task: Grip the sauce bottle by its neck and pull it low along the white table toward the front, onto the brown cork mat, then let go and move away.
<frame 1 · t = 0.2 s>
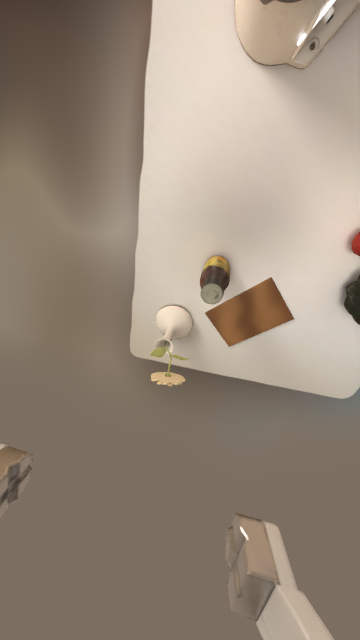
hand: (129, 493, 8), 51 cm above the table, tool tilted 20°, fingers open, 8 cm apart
sauce bottle: (216, 266, 54), on the table
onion: (359, 238, 45), on the table
flower in vase: (177, 320, 65), on the table
cork mat: (247, 315, 59), on the table
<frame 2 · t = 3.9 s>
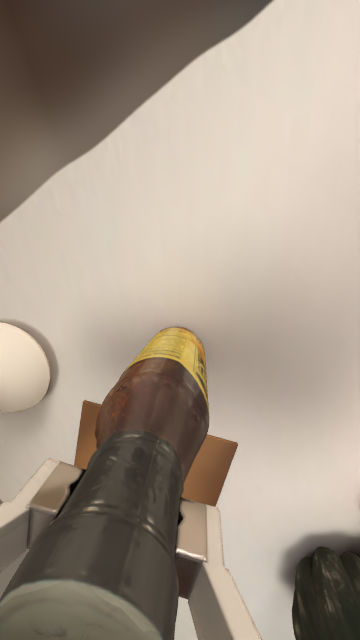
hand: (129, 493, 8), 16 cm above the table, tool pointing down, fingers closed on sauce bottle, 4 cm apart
sauce bottle: (177, 348, 24), on the table, touching gripper
squash: (333, 566, 28), on the table
flower in vase: (20, 367, 27), on the table
cork mat: (148, 464, 28), on the table
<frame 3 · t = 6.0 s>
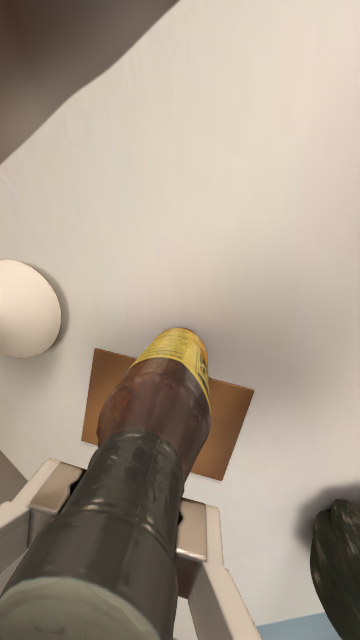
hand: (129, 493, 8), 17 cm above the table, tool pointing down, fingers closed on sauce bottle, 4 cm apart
sauce bottle: (180, 348, 24), point 1 cm above the table, touching gripper
squash: (351, 521, 28), on the table
flower in vase: (30, 314, 26), on the table
cork mat: (161, 416, 27), on the table
when the fingers open (16 cm above the table, at t = 8.6 s): sauce bottle stays where it is, resting on cork mat.
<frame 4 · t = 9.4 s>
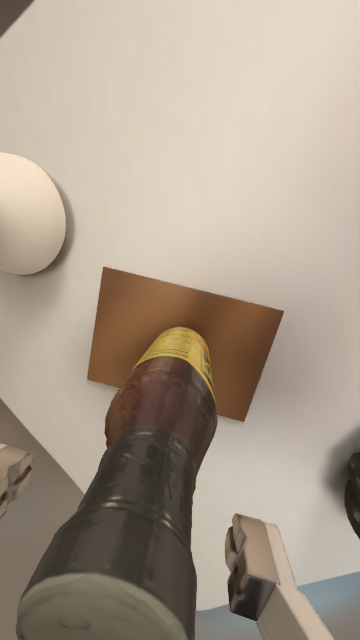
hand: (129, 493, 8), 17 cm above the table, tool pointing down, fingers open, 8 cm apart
sauce bottle: (181, 347, 24), resting on cork mat
flower in vase: (30, 229, 23), on the table
cork mat: (177, 347, 24), on the table
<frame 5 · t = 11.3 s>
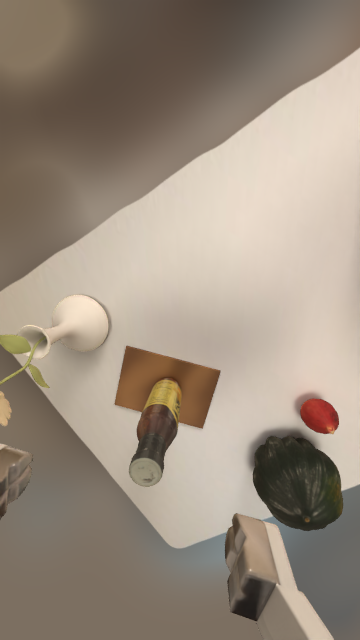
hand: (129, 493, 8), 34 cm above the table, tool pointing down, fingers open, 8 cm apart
sauce bottle: (168, 388, 44), resting on cork mat
squash: (281, 452, 45), on the table
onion: (307, 402, 42), on the table
flower in vase: (87, 325, 43), on the table
cork mat: (165, 387, 44), on the table
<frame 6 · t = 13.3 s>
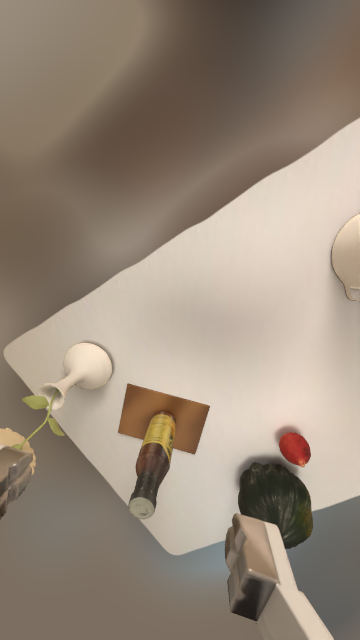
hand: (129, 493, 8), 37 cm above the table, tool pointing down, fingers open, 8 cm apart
sauce bottle: (164, 419, 50), resting on cork mat
squash: (264, 476, 51), on the table
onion: (287, 434, 48), on the table
flower in vase: (93, 366, 49), on the table
cork mat: (162, 419, 50), on the table
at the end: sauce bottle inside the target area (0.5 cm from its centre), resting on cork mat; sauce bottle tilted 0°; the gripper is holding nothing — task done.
